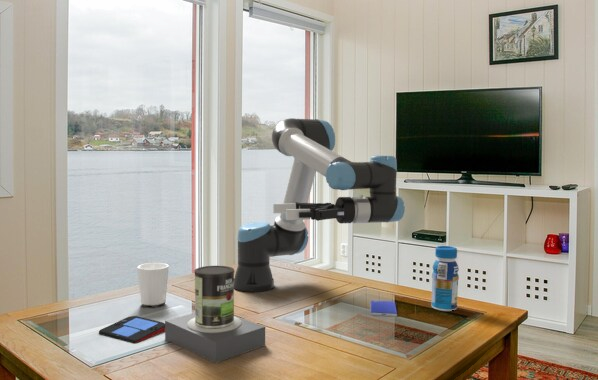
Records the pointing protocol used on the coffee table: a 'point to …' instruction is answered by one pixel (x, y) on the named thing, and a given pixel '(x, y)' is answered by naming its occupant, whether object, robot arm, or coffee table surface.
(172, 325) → the dome button box
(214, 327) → the coffee can
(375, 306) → the hard drive
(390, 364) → the coffee table surface
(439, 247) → the beverage bottle
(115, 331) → the game console
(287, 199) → the robot arm
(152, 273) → the cup
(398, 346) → the coffee table surface
